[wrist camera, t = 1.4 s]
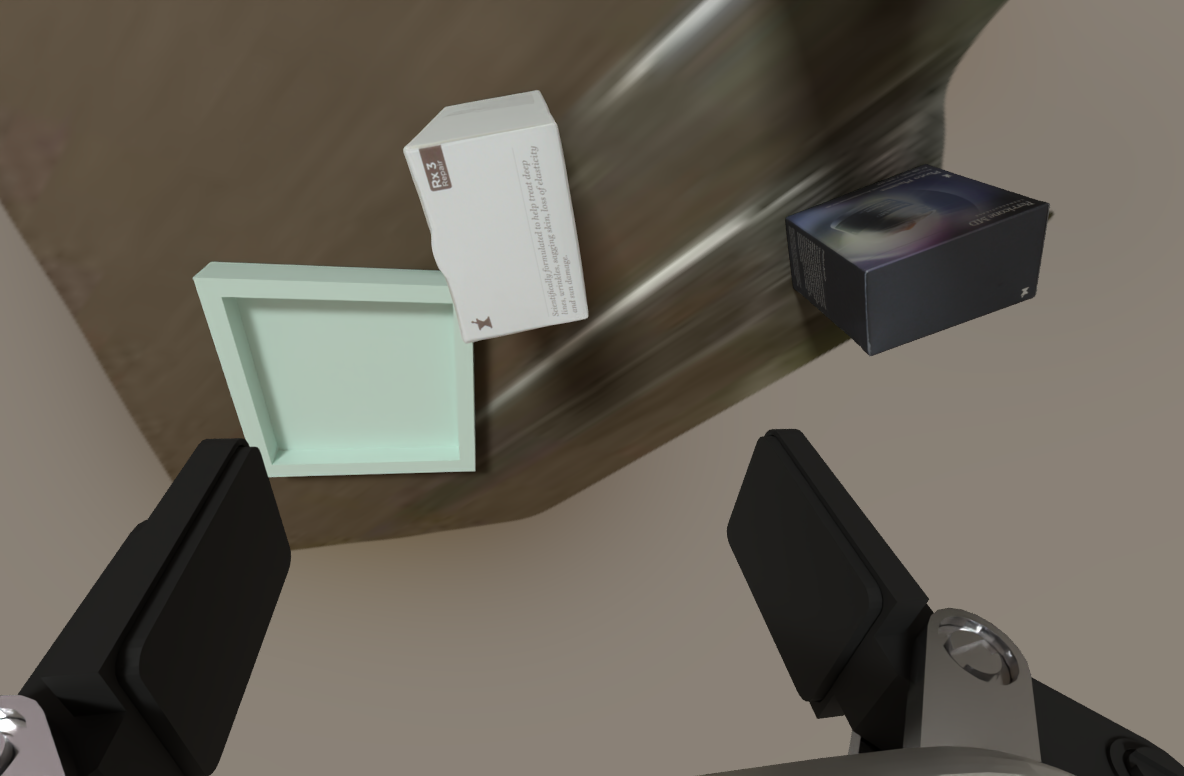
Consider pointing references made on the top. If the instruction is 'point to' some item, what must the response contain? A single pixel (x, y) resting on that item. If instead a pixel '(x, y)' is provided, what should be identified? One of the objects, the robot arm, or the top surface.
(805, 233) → the small box
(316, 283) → the tray
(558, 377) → the top surface
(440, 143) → the skincare box
